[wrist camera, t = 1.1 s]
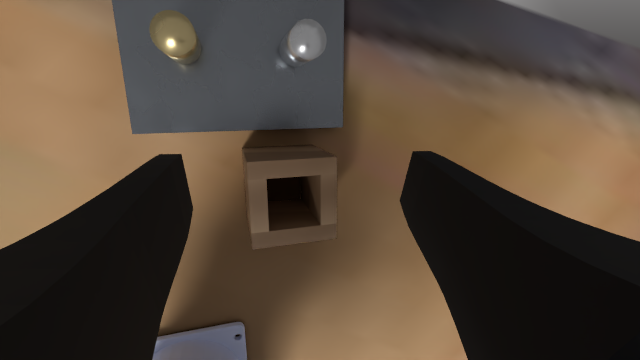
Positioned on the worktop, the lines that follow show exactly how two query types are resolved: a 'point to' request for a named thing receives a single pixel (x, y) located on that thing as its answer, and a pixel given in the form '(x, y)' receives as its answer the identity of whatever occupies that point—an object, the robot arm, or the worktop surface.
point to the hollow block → (297, 214)
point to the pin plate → (231, 64)
